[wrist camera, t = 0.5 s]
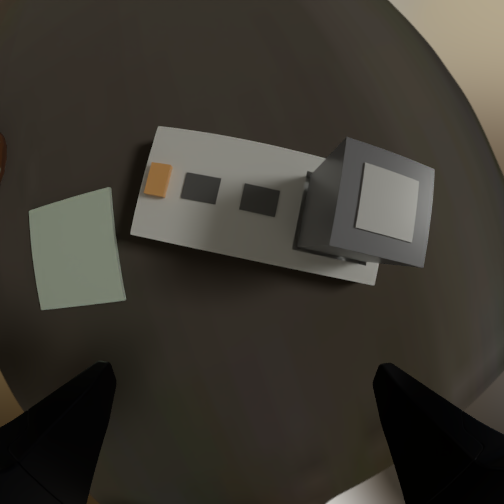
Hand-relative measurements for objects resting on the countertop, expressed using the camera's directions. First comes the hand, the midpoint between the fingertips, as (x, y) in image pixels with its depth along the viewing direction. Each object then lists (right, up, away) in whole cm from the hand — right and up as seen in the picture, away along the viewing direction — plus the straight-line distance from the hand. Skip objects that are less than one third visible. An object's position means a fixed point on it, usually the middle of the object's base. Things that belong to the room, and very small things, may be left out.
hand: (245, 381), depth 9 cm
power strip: (+1, +7, +13) cm, 15 cm away
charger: (+6, +6, +13) cm, 15 cm away
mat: (-15, +4, +13) cm, 20 cm away
